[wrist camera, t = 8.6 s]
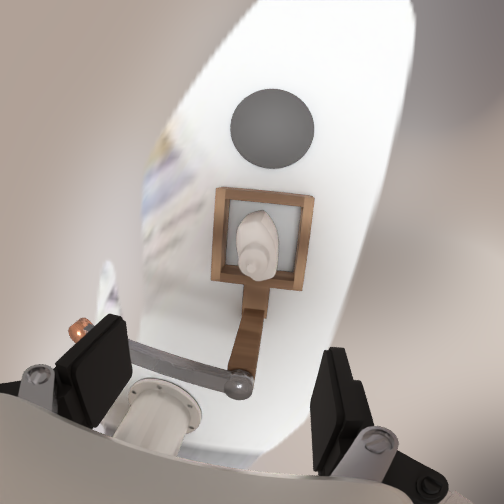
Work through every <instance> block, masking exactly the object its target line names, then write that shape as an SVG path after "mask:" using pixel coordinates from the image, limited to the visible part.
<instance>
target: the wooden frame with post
mask: <svg viewBox="0 0 504 504" xmlns="http://www.w3.org/2000/svg"><path fill="white" fill-rule="evenodd" d="M230 199H231V200H242V201H253V202H263V203H273V204H282V205H291V206H300V207H301V216H300V224H299V232H298V241H297V248H296V256H295V264H294V271H293V272H286V271H277V270H276V274H275V275H274V277H272V278H270V279H267V280H263V281H255V280H253V279H252V278H251V277H249V276H247V275H245V274H244V273H243V272H242V271H241V270H240V269H239V266H234V265H225V261H226V246H227V231H228V217H229V203H230ZM314 199H315V198H314V197H313V196H309V195H301V194H292V193H283V192H274V191H264V190H254V189H243V188H231V187H219V188H216V196H215V211H214V227H213V245H212V264H211V280H212V281H220V282H228V283H236V284H244V291H243V303H242V315H241V316H242V319H241V322H240V325H239V329H238V332H237V336H236V339H235V343H234V346H233V349H232V353H231V356H230V360H229V363H228V371H233V370H237V369H240V370H245V371H247V372H249V373H250V374H251V375H252V376H253V378H254V380H255V374H256V368H257V361H258V355H259V348H260V342H261V335H262V328H263V321H264V318H265V319H266V316H267V308H268V300H269V291H270V288H278V289H287V290H296V291H302V287H303V281H304V274H305V268H306V261H307V254H308V246H309V239H310V231H311V224H312V216H313V207H314ZM253 387H254V384H253Z"/></svg>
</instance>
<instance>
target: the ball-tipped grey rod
mask: <svg viewBox="0 0 504 504" xmlns="http://www.w3.org/2000/svg"><path fill="white" fill-rule="evenodd" d="M93 327H94V325H93V324H92V323H91V322H90V321H89V320H88V319H86V318H80V319H79V320H78V321H77V322H75V323H74V324H73V325H72V326H71V327H70V328H69V330H68V332H69V336H70V337H71V339H72V340H73V341H74V342H75V343H77V342H78V341H79V340H80V339H81V338H82V337H83V336H84V335H86V334H87V333H88V332H89V331H90V330H91V329H92V328H93ZM128 343H129V351H130V357H131V363H133V364H135V365H138V366H141V367H143V368H146V369H149V370H152V371H155V372H157V373H160V374H163V375H166V376H169V377H172V378H175V379H179V380H182V381H185V382H188V383H191V384H195V385H198V386H202V387H205V388H209V389H212V390H216V391H220V392H223V393H225V394H226V395H227V396H228V397H230V398H232V399H235V400H245V399H247V398H249V397H250V396H251V395H252V391H253V384H254V378H253V376H252V375H251V374H250V373H249V372H247V371H245V370H240V369H237V370H233V371H228V370H224V369H220V368H217V367H213V366H209V365H206V364H202V363H199V362H196V361H192V360H189V359H186V358H182V357H179V356H176V355H173V354H170V353H167V352H164V351H161V350H158V349H155V348H152V347H149V346H146V345H143V344H140V343H138V342H135V341H132V340H130V339H128Z"/></svg>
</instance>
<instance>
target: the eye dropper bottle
mask: <svg viewBox="0 0 504 504" xmlns="http://www.w3.org/2000/svg"><path fill="white" fill-rule="evenodd" d="M236 247H237V253H238V257H239V259H238V266H239V269H240V270H241V271H242V272H243V273H244V274H245V275H247V276H249V277H251V278H252V279H253V280H255V281H263V280H267V279H270V278H272V277H274V275H275V274H276V270H277V263H278V251H279V239H278V234H277V230H276V227H275V225H274V223H273V221H272V219H271V218H270V216H269V215H268V214H267V213H266V212H265V211H263V210H260V211H256V212H253V213H250V214H248V215H247V216H246V217H245V218H244V220H243V221H242V222H241V223H240V225H239V227H238V229H237V235H236Z"/></svg>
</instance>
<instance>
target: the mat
mask: <svg viewBox="0 0 504 504" xmlns="http://www.w3.org/2000/svg"><path fill="white" fill-rule="evenodd" d="M230 130H231V137H232V141H233V143H234V145H235V147H236V149H237V150H238V152H239V153H240V154H241V155H242V156H243V157H244V158H245V159H246V160H247V161H249V162H251V163H252V164H255V165H257V166H260V167H264V168H282V167H286V166H288V165H291V164H293V163H295V162H296V161H298V160H299V159H300V158H301V157H302V156H303V155H304V154H305V153H306V152H307V150H308V149H309V147H310V145H311V143H312V140H313V136H314V122H313V118H312V115H311V113H310V111H309V109H308V108H307V106H306V105H305V104H304V102H302V101H301V100H300V99H299V98H298V97H297V96H295V95H293V94H291V93H289V92H287V91H283V90H279V89H265V90H260V91H257V92H255V93H253V94H251V95H249V96H248V97H246V98H245V99H244V100H243V101H241V103H240V104H239V105H238V106H237V108H236V109H235V111H234V114H233V116H232V119H231V129H230Z"/></svg>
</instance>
